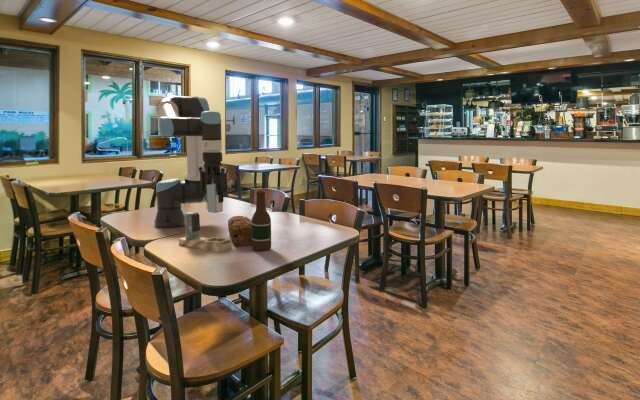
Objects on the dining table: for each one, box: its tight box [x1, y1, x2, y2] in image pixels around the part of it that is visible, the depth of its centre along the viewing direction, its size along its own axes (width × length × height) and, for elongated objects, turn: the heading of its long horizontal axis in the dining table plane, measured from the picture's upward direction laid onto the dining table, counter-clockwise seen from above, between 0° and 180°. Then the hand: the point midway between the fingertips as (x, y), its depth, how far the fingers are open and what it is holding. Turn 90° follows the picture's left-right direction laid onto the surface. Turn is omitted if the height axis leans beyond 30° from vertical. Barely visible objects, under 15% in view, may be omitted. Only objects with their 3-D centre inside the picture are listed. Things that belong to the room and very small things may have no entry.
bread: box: [227, 215, 252, 247], centre depth 176 cm, size 19×11×10 cm, turn 19°
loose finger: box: [206, 183, 224, 214], centre depth 160 cm, size 5×4×11 cm
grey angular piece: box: [178, 211, 232, 253], centre depth 166 cm, size 23×7×14 cm, turn 60°
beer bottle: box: [251, 190, 272, 253], centre depth 161 cm, size 8×8×24 cm
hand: (214, 209), depth 161 cm, fingers closed on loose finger, 5 cm apart
